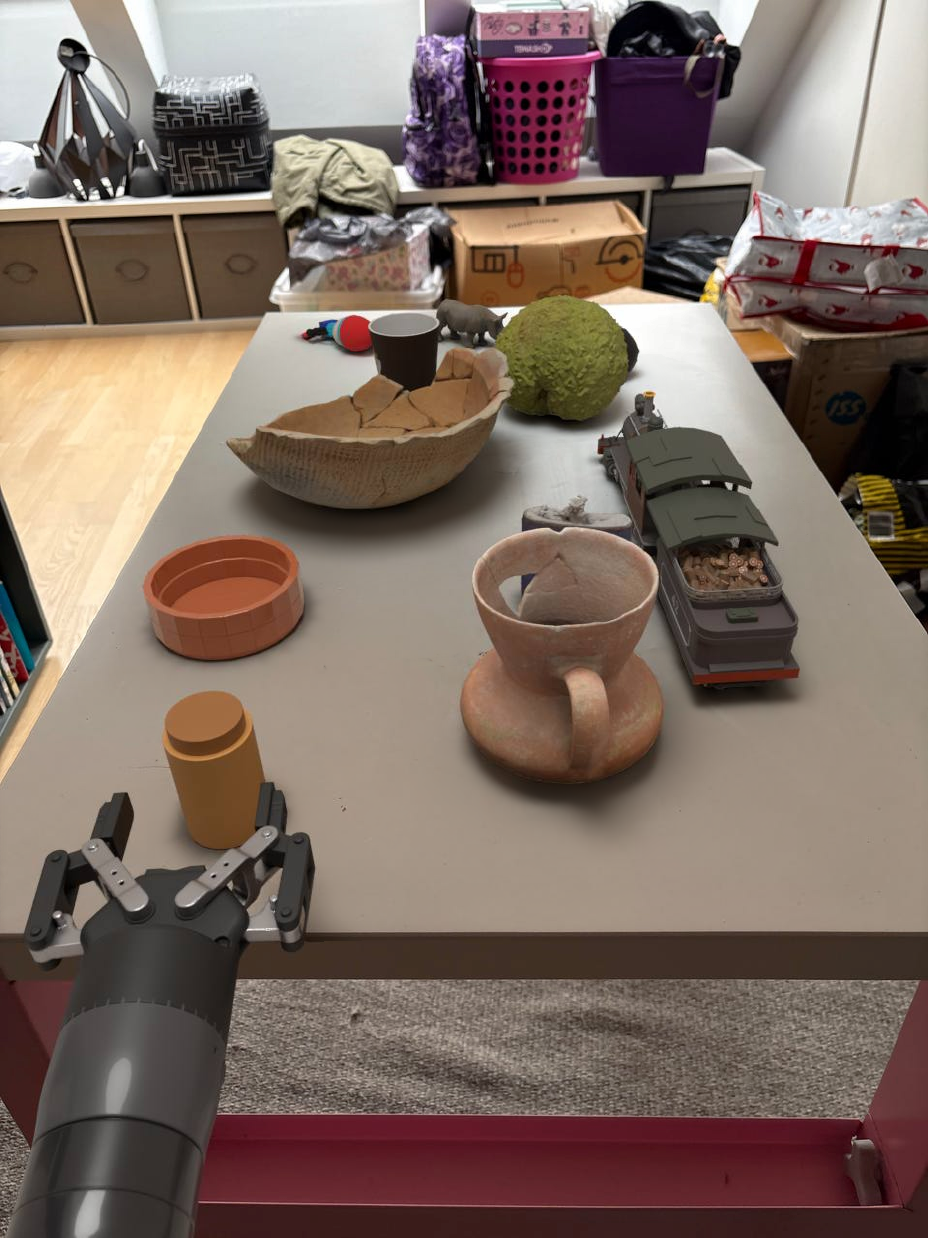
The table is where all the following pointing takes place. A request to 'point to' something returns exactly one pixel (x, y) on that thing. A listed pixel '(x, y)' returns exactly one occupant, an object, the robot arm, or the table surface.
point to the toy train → (704, 549)
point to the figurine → (630, 349)
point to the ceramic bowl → (383, 436)
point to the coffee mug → (406, 348)
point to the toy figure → (345, 332)
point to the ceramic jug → (564, 657)
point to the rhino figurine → (468, 321)
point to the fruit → (564, 358)
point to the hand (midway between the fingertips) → (197, 797)
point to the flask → (573, 523)
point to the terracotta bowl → (224, 596)
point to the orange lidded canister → (214, 767)
